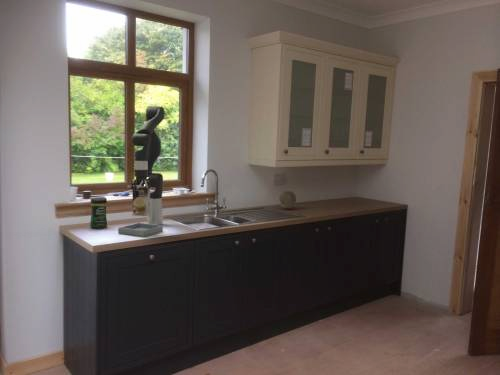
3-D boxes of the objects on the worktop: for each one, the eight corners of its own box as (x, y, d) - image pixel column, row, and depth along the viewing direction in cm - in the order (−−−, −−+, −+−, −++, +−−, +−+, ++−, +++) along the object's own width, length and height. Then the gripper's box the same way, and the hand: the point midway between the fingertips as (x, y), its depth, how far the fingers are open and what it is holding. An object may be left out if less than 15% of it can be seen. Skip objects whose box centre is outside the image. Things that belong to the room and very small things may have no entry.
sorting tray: (138, 228, 265) (138, 222, 264) (162, 231, 257) (162, 225, 257) (118, 233, 248) (118, 227, 248) (143, 237, 241) (143, 231, 241)
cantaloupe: (298, 210, 354) (299, 192, 352) (281, 210, 351) (282, 192, 349) (292, 207, 367) (293, 190, 366) (277, 207, 364) (277, 190, 363)
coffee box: (131, 215, 249) (131, 188, 247) (134, 213, 255) (134, 186, 253) (147, 216, 249) (147, 188, 247) (150, 214, 255) (150, 187, 253)
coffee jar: (92, 229, 258) (91, 198, 257) (89, 226, 265) (88, 196, 263) (108, 227, 264) (108, 197, 262) (105, 225, 270) (105, 196, 268)
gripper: (143, 167, 257) (143, 194, 259) (127, 168, 244) (127, 197, 246) (153, 168, 254) (153, 195, 256) (138, 169, 241) (138, 198, 243)
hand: (141, 196), depth 251 cm, fingers closed on coffee box, 8 cm apart
